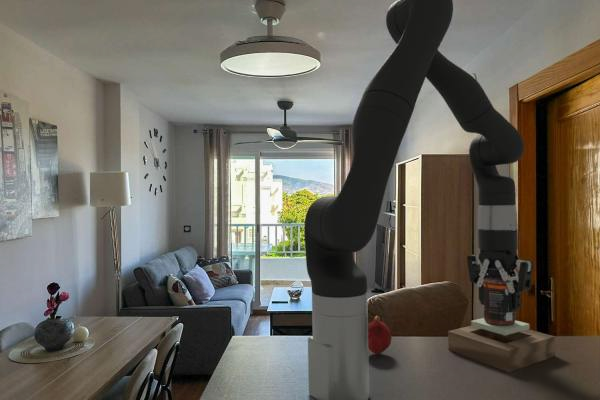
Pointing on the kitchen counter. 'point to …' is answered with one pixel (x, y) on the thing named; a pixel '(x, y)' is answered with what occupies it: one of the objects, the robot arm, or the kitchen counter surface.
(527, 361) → the wooden tray
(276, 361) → the kitchen counter surface
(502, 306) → the supplement bottle
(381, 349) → the pomegranate
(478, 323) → the plate
